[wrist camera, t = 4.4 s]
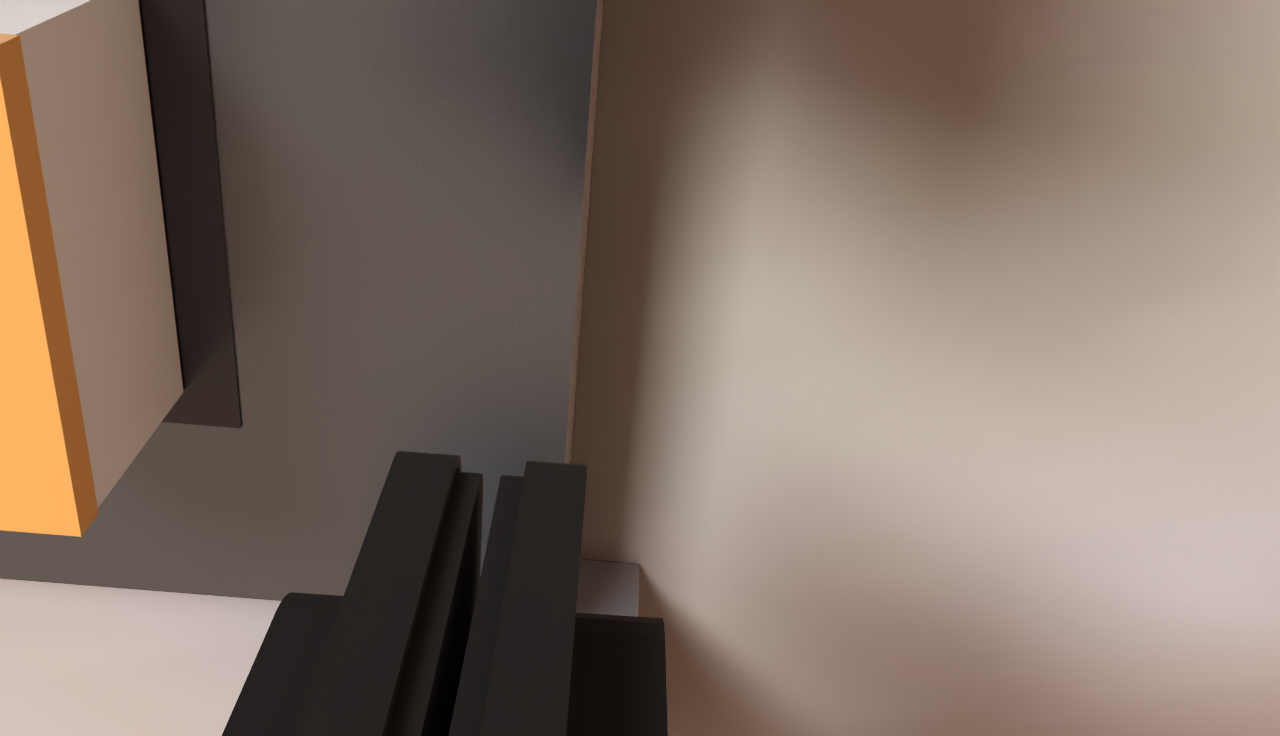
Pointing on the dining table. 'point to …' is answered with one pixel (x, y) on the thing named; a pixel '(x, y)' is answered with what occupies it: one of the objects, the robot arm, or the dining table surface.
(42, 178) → the block
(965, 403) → the dining table surface
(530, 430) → the breaker panel
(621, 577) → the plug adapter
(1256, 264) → the dining table surface
